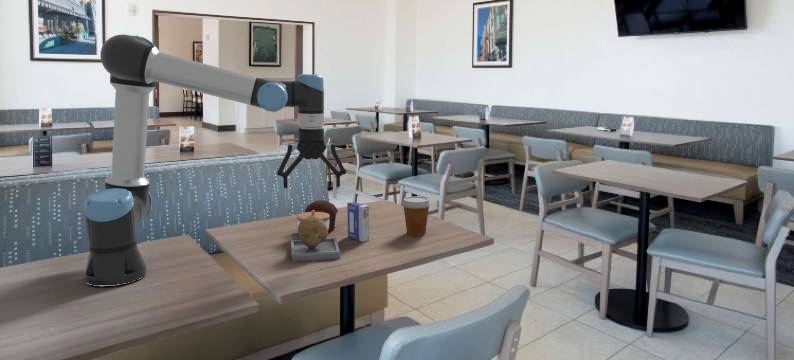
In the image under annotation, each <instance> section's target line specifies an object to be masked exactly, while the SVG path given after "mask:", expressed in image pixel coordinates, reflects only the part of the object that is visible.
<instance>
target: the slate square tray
mask: <svg viewBox="0 0 794 360" xmlns="http://www.w3.org/2000/svg"><path fill="white" fill-rule="evenodd" d="M290 245H291V247H290V248H291V249H290V251H291V262H303V261H306V262H307V261H320V260H322V261H323V260H335V259H341V253H340V248H339V245H338V241H337V239H336V237H327V238H326V239H325V240H324V241H323V242H321V243H320V244H318V246H317V247H315V248H313V249H310V248H308V247H307V246H305V245H304V244H303V242H302V241H301V239H292V240H290Z"/></svg>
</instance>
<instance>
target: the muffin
mask: <svg viewBox="0 0 794 360" xmlns="http://www.w3.org/2000/svg"><path fill="white" fill-rule="evenodd" d="M312 210H315V212H324V213H328V214H329V215H330V218H329V229H328V233H331V232H333V231H335V225H336V217H337V213H338V212H339V209H338V208H337V207H336V205H335V204H333V203H332V202H330V201H328V200H323V199H320V200H318V199H317V200H315V201H312V202H311V203H309V204H308V205H307V207H306V208H305V210H304V212H303V213H306V212H312Z"/></svg>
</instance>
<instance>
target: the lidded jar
mask: <svg viewBox="0 0 794 360" xmlns="http://www.w3.org/2000/svg"><path fill="white" fill-rule="evenodd" d="M309 216H315V217H318V218H320V219H321V220H323V222H324V223H325V225H326V227H327V229H329V218H330V215H329V214H328V213H324V212H315V210H312V212H306V213H304V212H301V213H298V214H297V215H296V223H297V227H298V226H299V224H300V222H301V221H302V220H303V219H305V218H307V217H309Z"/></svg>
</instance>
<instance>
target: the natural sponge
mask: <svg viewBox="0 0 794 360" xmlns="http://www.w3.org/2000/svg"><path fill="white" fill-rule="evenodd" d="M297 234H298V237H299V240H301V241H302V242H303V244H304V245H305V246H307V247H308V248H310V249H313V248H315V247H317V246H318V244H320V243H321V242H323V241H324V240H325V239H326V238H328V236H329V232H328V229H327V227H326V225H325V223H324V222H323V220H321V219H320V218H318V217H315V216H309V217H307V218H305V219H303V220H302V221H301V222H300V224H299V226H298V225H297Z"/></svg>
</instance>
